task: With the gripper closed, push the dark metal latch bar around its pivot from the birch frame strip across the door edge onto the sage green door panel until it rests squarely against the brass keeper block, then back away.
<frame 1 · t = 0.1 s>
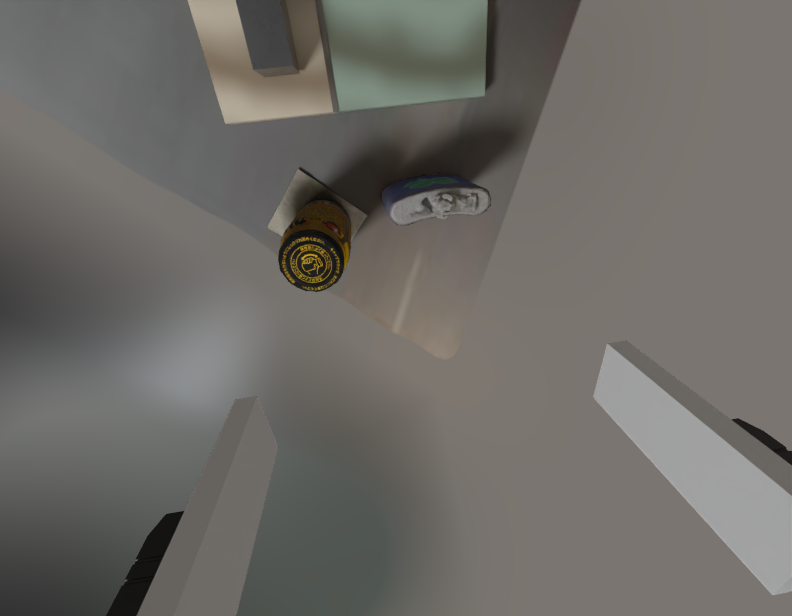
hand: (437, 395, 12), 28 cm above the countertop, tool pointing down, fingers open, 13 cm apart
condiment: (318, 220, 36), on the countertop
flask: (422, 189, 36), on the countertop
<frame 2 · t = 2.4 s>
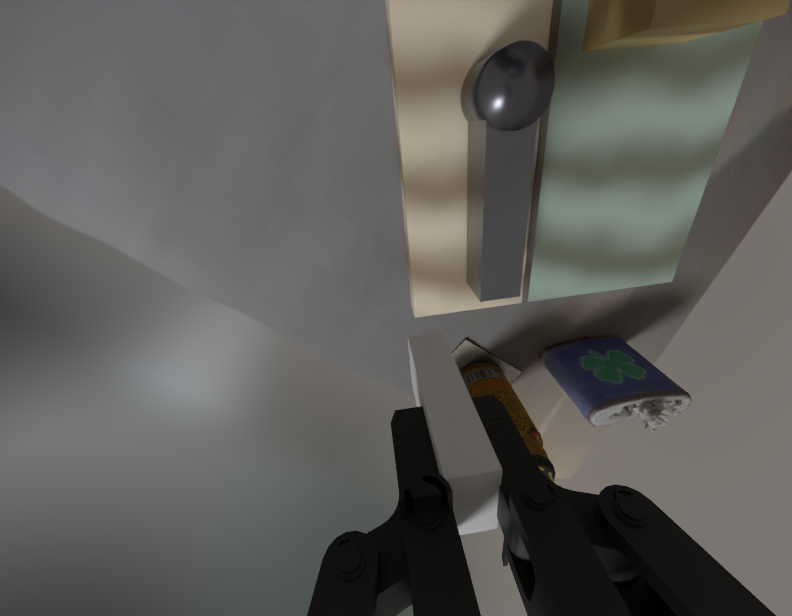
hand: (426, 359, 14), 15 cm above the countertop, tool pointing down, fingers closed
latch bar: (498, 190, 22), point 5 cm above the countertop, hinge at 0.0°
condiment: (471, 376, 36), on the countertop
flask: (578, 347, 35), on the countertop
latch frame: (550, 165, 26), on the countertop
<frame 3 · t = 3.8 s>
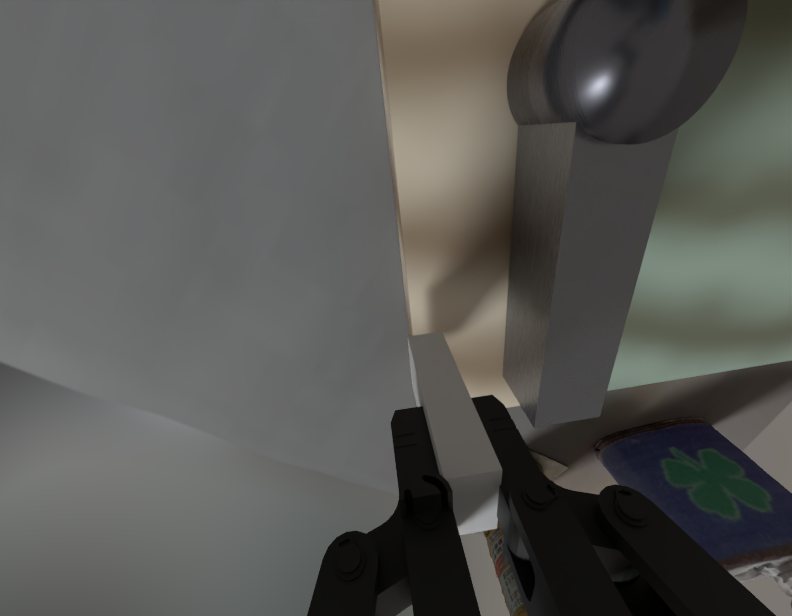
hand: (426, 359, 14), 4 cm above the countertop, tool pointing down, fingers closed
latch bar: (573, 248, 12), point 5 cm above the countertop, hinge at 0.0°
condiment: (498, 474, 26), on the countertop
flask: (648, 433, 25), on the countertop
latch frame: (638, 193, 16), on the countertop
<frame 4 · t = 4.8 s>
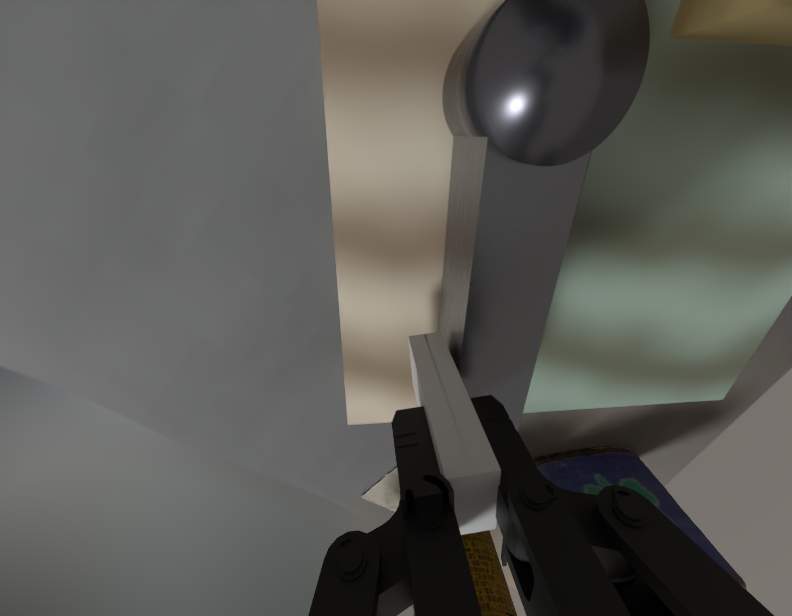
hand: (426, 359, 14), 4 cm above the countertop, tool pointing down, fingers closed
latch bar: (497, 265, 12), point 4 cm above the countertop, hinge at 0.8°, touching gripper
condiment: (430, 486, 26), on the countertop
flask: (579, 458, 26), on the countertop
latch frame: (578, 221, 16), on the countertop
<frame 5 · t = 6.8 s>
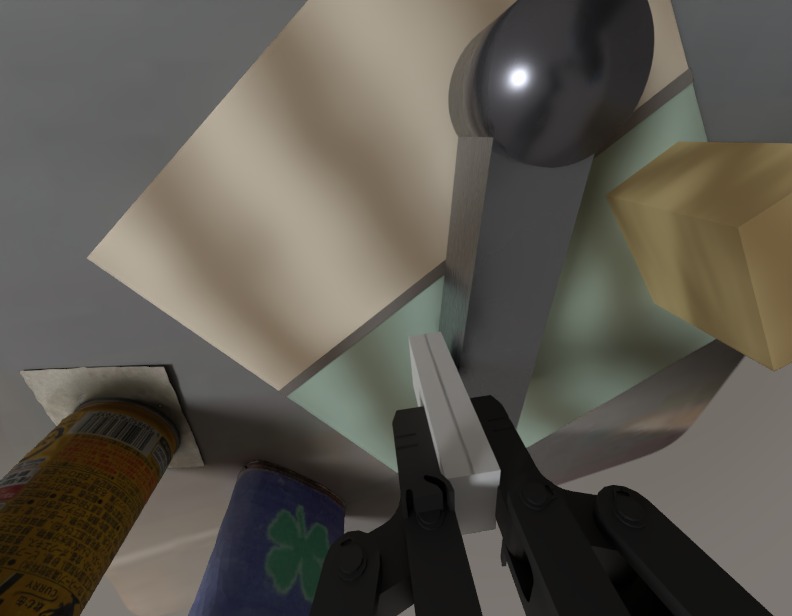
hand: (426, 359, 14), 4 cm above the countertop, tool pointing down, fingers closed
latch bar: (499, 264, 12), point 5 cm above the countertop, hinge at 49.1°, touching gripper
condiment: (127, 419, 20), on the countertop
flask: (298, 486, 24), on the countertop
latch frame: (462, 276, 17), on the countertop
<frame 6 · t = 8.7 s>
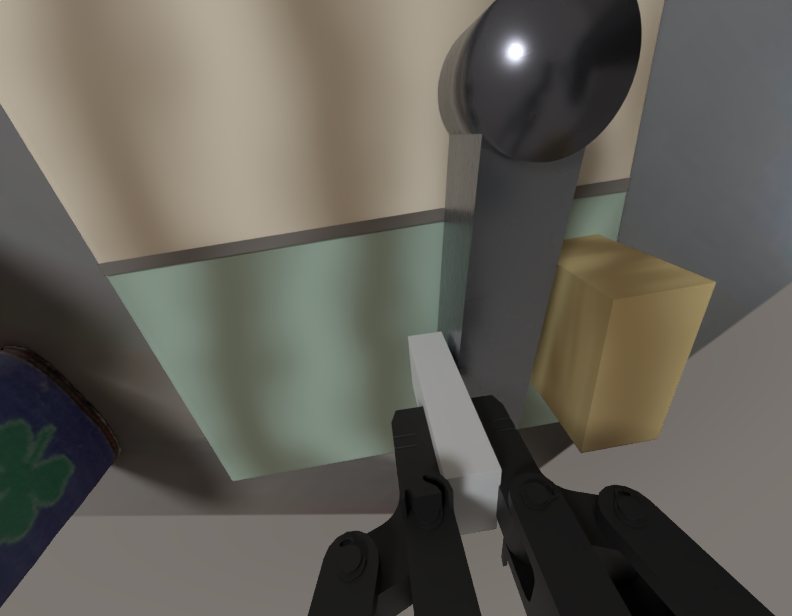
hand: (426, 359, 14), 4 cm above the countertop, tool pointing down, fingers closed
latch bar: (494, 262, 12), point 5 cm above the countertop, hinge at 82.6°, touching gripper
flask: (68, 406, 19), on the countertop
latch frame: (376, 255, 16), on the countertop
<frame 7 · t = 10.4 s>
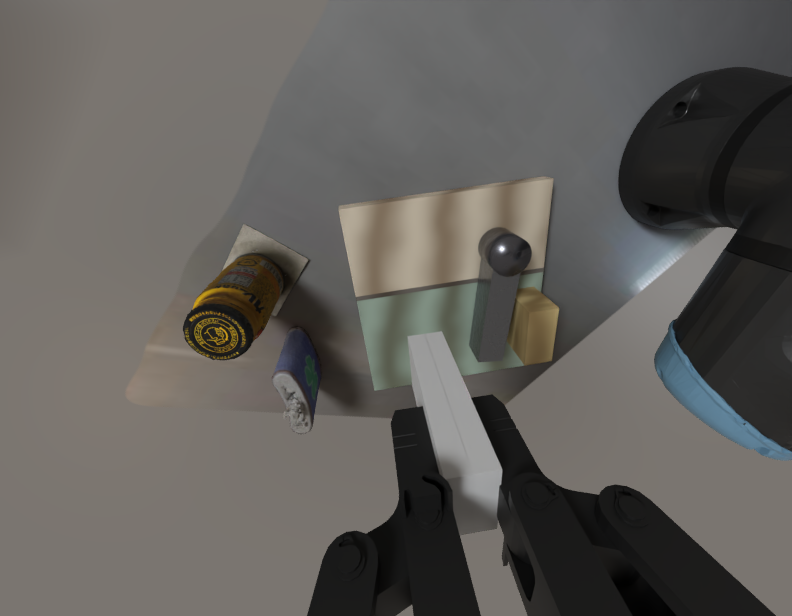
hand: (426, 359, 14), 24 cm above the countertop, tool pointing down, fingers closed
latch bar: (495, 299, 36), point 5 cm above the countertop, hinge at 82.7°
condiment: (261, 272, 36), on the countertop
flask: (306, 354, 42), on the countertop
latch frame: (447, 292, 40), on the countertop
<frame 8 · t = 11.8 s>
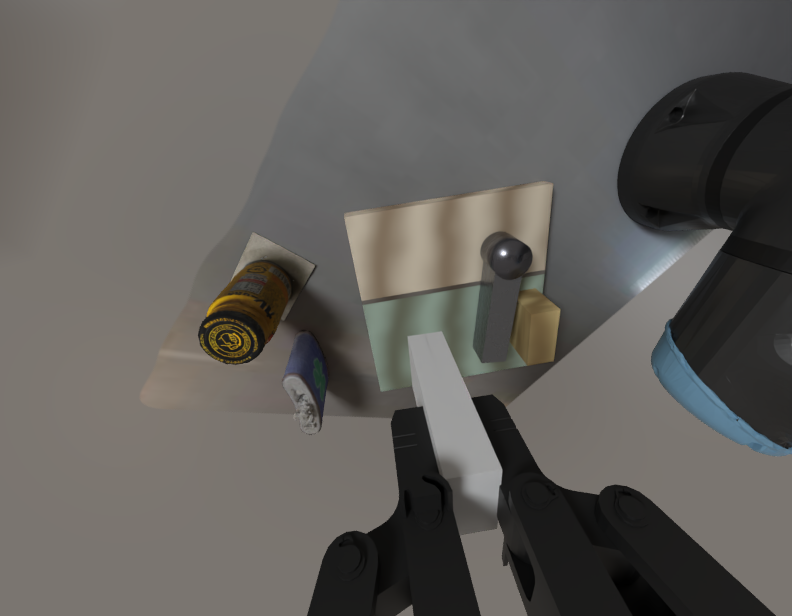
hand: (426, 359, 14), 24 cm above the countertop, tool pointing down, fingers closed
latch bar: (497, 301, 37), point 5 cm above the countertop, hinge at 82.7°
condiment: (270, 278, 37), on the countertop
flask: (313, 357, 43), on the countertop
latch frame: (450, 294, 41), on the countertop
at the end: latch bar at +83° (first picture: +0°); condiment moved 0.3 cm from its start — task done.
